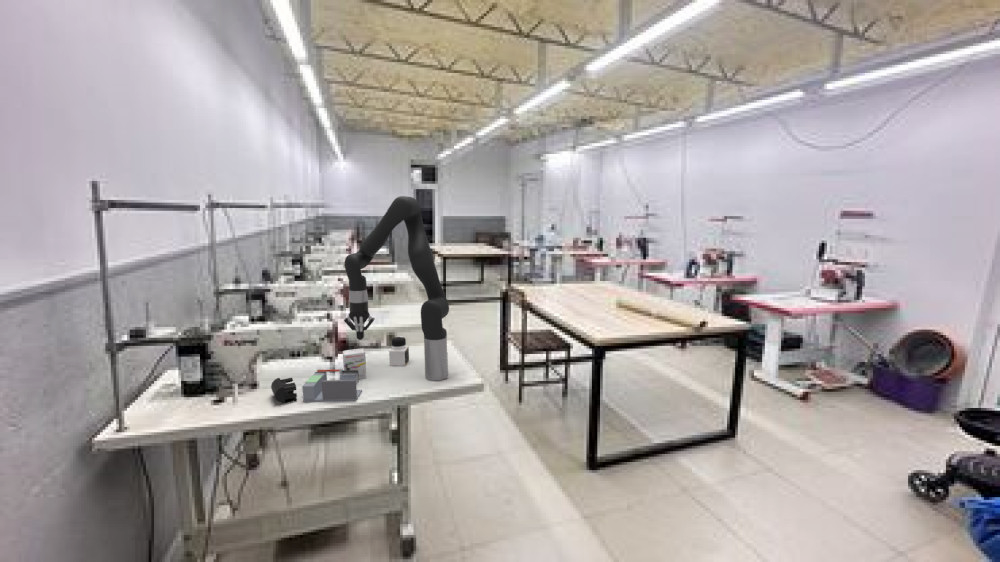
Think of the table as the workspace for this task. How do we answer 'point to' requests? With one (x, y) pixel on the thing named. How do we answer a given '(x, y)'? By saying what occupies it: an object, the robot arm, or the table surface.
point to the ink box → (355, 361)
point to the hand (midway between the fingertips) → (360, 339)
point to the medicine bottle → (399, 352)
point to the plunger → (345, 374)
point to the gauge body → (329, 389)
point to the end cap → (284, 390)
